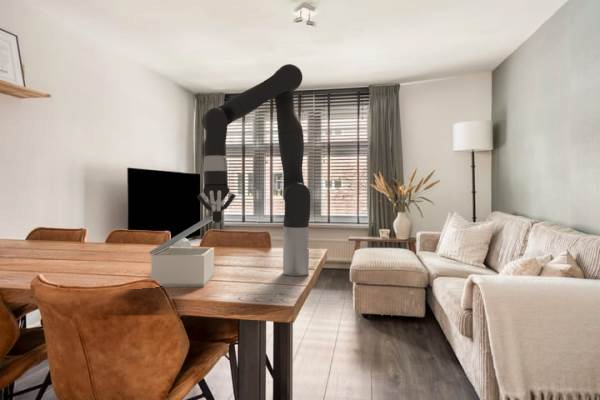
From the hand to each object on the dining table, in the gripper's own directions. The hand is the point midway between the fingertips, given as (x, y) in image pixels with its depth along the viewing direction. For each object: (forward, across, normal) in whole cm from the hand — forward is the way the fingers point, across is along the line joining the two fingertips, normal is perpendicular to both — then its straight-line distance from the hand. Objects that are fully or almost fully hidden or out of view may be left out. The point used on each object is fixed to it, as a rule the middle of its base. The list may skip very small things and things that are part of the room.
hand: (217, 222), depth 118 cm
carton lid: (+4, +10, 0) cm, 11 cm away
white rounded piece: (+19, +17, -17) cm, 31 cm away
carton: (+19, +11, 0) cm, 22 cm away
